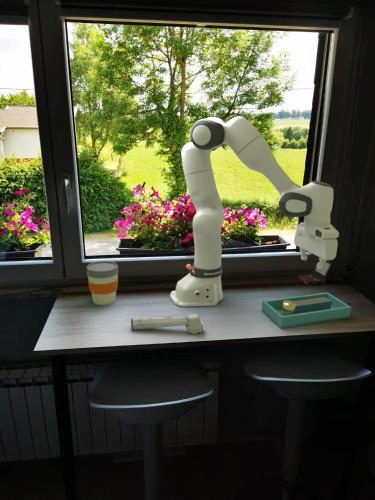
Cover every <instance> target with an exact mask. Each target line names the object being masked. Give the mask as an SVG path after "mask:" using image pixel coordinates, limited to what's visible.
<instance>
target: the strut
mask: <svg viewBox="0 0 375 500" xmlns="http://www.w3.org/2000/svg"><path fill="white" fill-rule="evenodd" d="M331 303H332V301H331V300H329V299H328V298H326V297H320V298H313V299H306V300H299V301H289V300H286V301H283V307H282V316H287V315H293V314H300V313H307V312H313V311H320V310H327V309H331Z"/></svg>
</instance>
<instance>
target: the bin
mask: <svg viewBox="0 0 375 500" xmlns="http://www.w3.org/2000/svg"><path fill="white" fill-rule="evenodd" d="M320 297H326V298H328V299H329V300H331V301H332V303H331V309H327V310H320V311H313V312H307V313H300V314H293V315H287V316H282V307H283V301H286V300H289V301H299V300H306V299H313V298H320ZM261 312H262V313H263V314H264V316H266V317H267V318H268V319H269V320H270V321H271V322H272V323H273V324H275V325H276V327H278V328H279V329H280V330H283V329H289V328H294V327H302V326H307V325H312V324H319V323H320V324H321V323H325V322H326V323H327V322H332V321H333V322H334V321H337V320H345V319H349V318H350V317H351V313H352V306H351V305H348V304H347V303H345V302H343V300H341V299H339V298H337V297H336V296H334V295H332V293H330V292H328V291H327V292H321V293H320V292H319V293H312V294H307V295H298V296H290V297H289V296H288V297H283V298H276V299H275V298H274V299H267V300H263V301H262V304H261Z"/></svg>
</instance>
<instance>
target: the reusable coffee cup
mask: <svg viewBox="0 0 375 500" xmlns="http://www.w3.org/2000/svg"><path fill="white" fill-rule="evenodd" d="M119 272H120V271H119V265H118V264H117V263H116V262H114V261H112V260H111V261H110V260H100V261H95V262H90V263H88V265H86V275H87V278H88V279H87V282H88V288H89V292H90V293H91V298H92V301H93V303H94V304H95V305H99V306H107V305H110V304H113V303H115V301H116V296H117V290H118V284H119V275H118V274H119Z"/></svg>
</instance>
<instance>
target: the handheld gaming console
mask: <svg viewBox="0 0 375 500" xmlns="http://www.w3.org/2000/svg"><path fill="white" fill-rule="evenodd" d="M319 261H320V260H319V259H318V262H317V263H319ZM316 266H317V264H316ZM316 266H315V267H314V269H313V271H312V273H308V274H298V277H297V278H298V279H299V278H300V279H301V280H300V279H299V280H300V281H302V280H303V281H304V282H303V281H302V282H303V283H304V284H306V285H308V286H312V285H321V284H322V285H323V284H325V283H326V280H327V279H326V278H327V276H328V275H329V273H330V271H331V269H332V267H333V266H334V263H333V262H332V261H331V260H326V262H325V263H324V264H323V268H322V269H319V268H317V267H316Z"/></svg>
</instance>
